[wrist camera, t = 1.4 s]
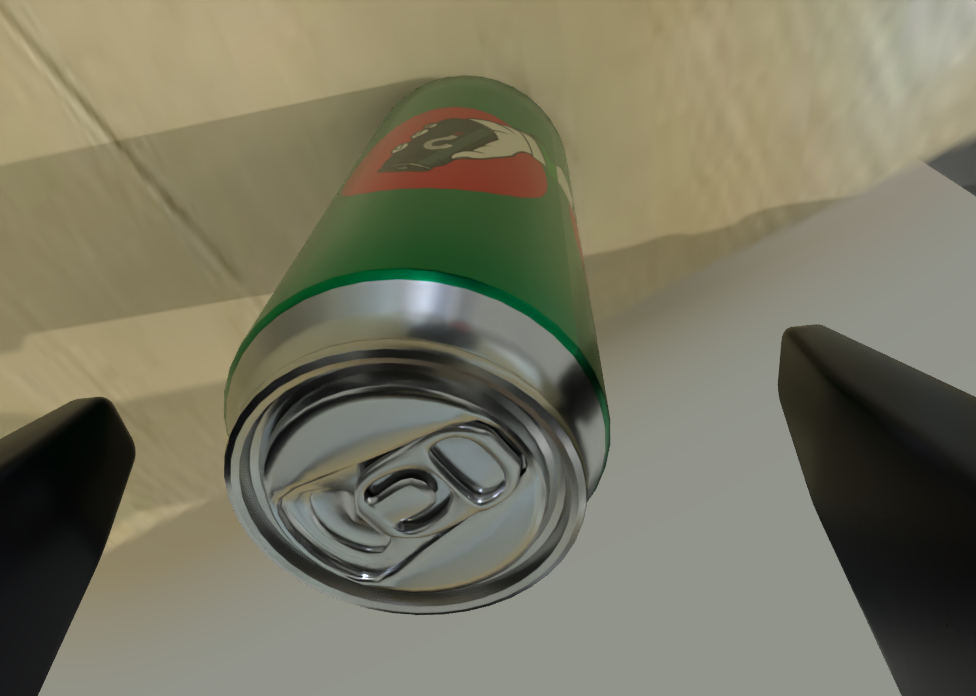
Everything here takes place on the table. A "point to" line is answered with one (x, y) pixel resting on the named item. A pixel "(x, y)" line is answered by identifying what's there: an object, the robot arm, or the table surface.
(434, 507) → the soda can
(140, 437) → the table surface
